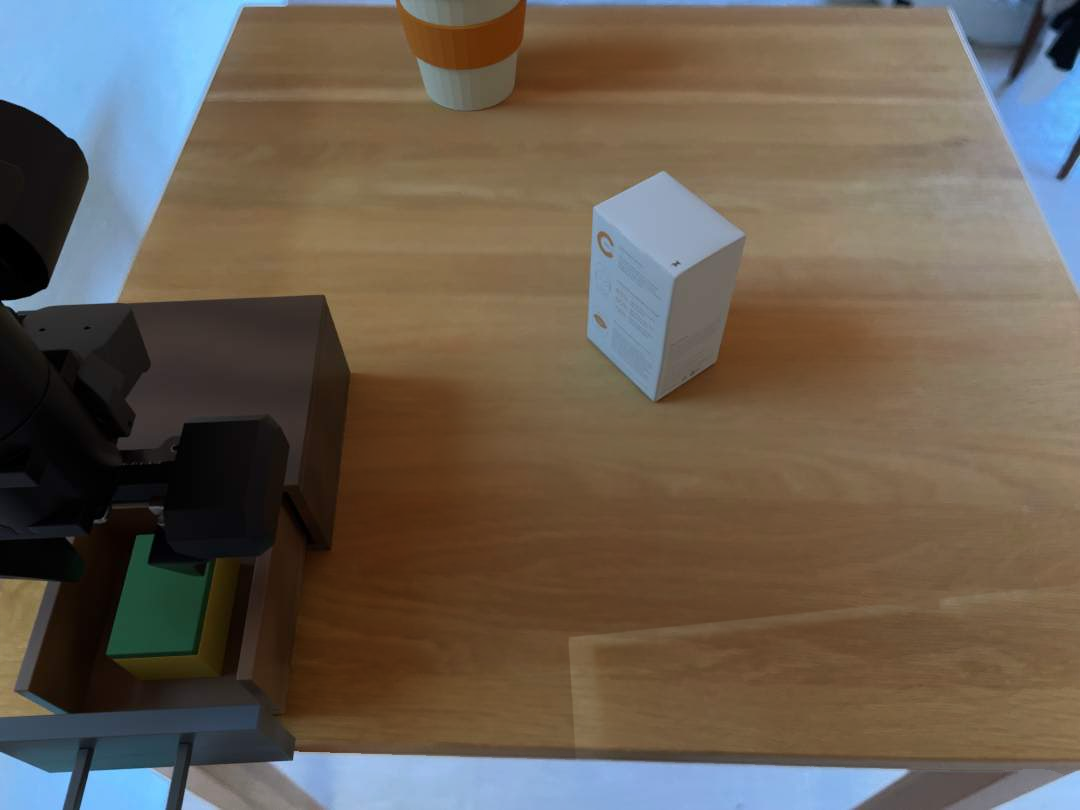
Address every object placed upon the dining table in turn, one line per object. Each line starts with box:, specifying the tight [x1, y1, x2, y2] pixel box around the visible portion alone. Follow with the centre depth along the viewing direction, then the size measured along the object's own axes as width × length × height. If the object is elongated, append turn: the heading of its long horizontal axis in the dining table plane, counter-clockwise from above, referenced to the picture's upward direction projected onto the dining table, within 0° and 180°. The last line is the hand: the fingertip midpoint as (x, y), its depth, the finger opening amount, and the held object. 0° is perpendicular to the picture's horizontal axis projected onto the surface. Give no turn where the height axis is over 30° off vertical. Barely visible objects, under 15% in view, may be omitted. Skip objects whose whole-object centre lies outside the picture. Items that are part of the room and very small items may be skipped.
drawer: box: [0, 494, 307, 810], centre depth 46 cm, size 18×13×7 cm
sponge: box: [106, 534, 240, 680], centre depth 48 cm, size 7×5×4 cm, turn 3°
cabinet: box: [116, 294, 351, 552], centre depth 55 cm, size 15×15×9 cm
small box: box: [586, 170, 748, 403], centre depth 58 cm, size 8×6×13 cm
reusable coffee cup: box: [395, 0, 528, 112], centre depth 77 cm, size 12×13×15 cm
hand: (141, 570), depth 44 cm, fingers open, 6 cm apart
